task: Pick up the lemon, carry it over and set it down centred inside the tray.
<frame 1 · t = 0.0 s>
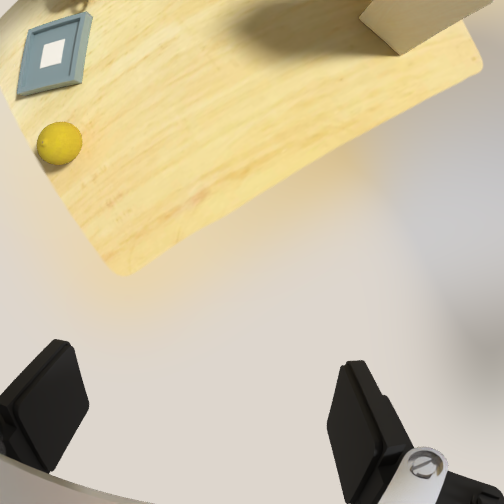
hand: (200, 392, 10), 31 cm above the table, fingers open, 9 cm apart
tray: (56, 55, 33), on the table
lemon: (75, 144, 37), on the table
beige rectangular block: (392, 25, 33), on the table
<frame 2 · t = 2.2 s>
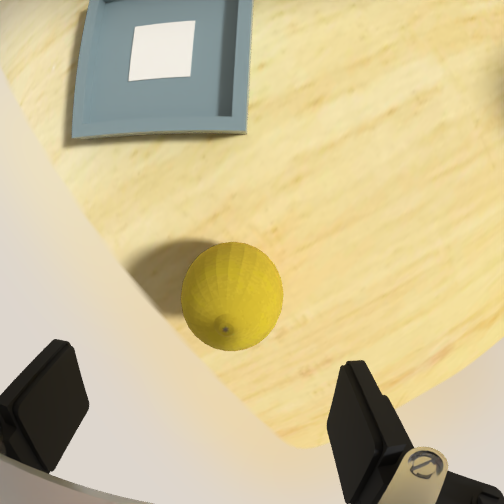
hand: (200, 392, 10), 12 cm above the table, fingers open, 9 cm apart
tray: (166, 55, 17), on the table
lemon: (236, 269, 22), on the table
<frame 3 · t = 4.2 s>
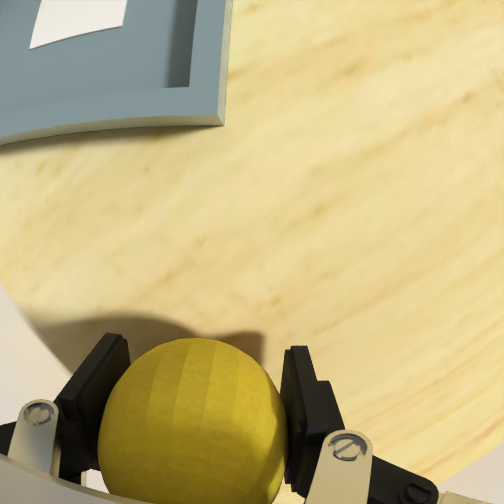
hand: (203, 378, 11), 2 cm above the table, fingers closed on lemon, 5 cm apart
tray: (95, 5, 8), on the table
lemon: (209, 359, 12), on the table, touching gripper
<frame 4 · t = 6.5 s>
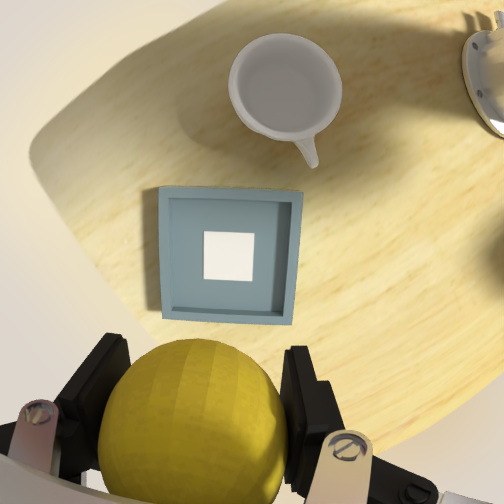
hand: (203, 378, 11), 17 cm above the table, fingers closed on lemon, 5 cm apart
teacup: (284, 111, 24), on the table
tray: (229, 252, 27), on the table
lemon: (209, 360, 12), point 15 cm above the table, touching gripper
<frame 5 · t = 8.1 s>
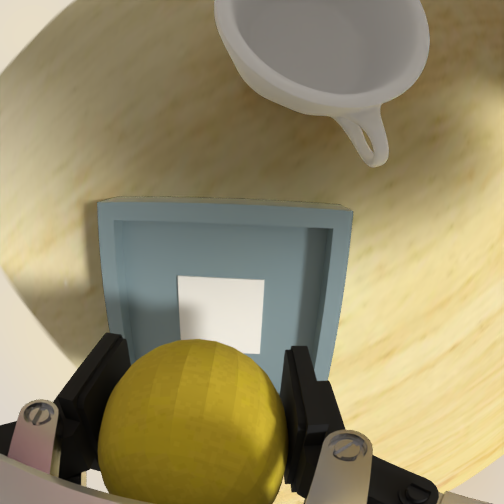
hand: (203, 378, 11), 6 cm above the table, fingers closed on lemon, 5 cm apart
teacup: (314, 72, 14), on the table
tray: (222, 306, 16), on the table
lemon: (209, 360, 12), point 4 cm above the table, touching gripper
when the fingers open (4 cm above the table, at t = 9.3 s): lemon stays where it is, resting on tray.
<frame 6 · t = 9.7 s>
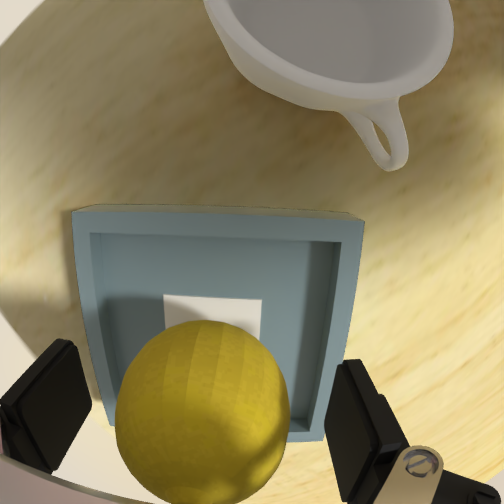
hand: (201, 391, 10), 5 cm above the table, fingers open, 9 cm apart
teacup: (318, 62, 12), on the table
tray: (215, 326, 15), on the table
lemon: (215, 343, 14), point 1 cm above the table, touching tray
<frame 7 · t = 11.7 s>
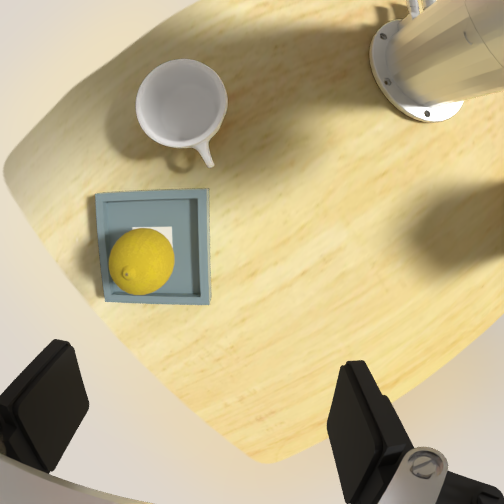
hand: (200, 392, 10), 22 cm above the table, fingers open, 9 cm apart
teacup: (194, 122, 29), on the table
tray: (156, 244, 31), on the table
lemon: (154, 249, 30), point 1 cm above the table, touching tray
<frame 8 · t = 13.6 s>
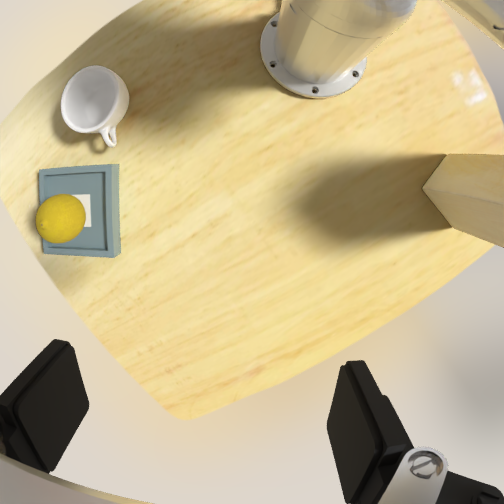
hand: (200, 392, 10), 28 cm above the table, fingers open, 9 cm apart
teacup: (111, 112, 34), on the table
tray: (81, 209, 36), on the table
lemon: (78, 212, 35), point 1 cm above the table, touching tray
beige rectangular block: (452, 189, 36), on the table
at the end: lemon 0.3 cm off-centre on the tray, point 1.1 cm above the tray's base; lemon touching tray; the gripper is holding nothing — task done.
